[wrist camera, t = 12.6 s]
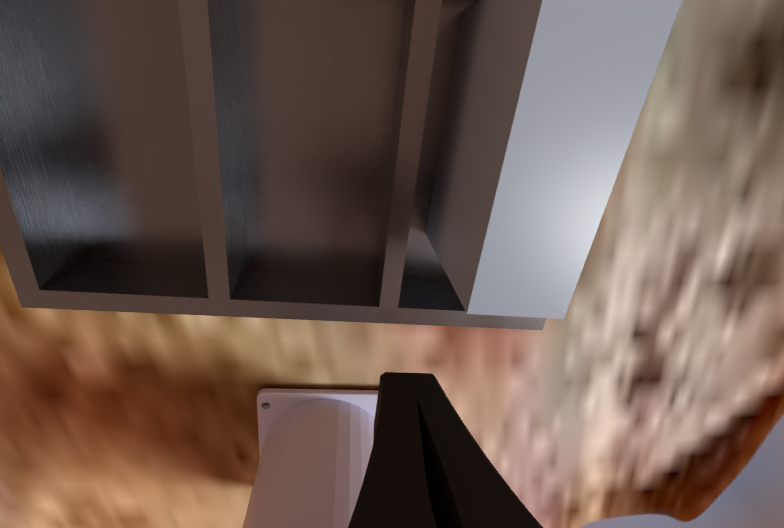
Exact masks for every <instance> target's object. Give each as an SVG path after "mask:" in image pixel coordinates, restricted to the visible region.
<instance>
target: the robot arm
mask: <svg viewBox="0 0 784 528" xmlns="http://www.w3.org/2000/svg"><path fill="white" fill-rule="evenodd" d="M265 403H269V404H265ZM257 416H258V437H259V458H260V461H259V465H258V469H257V472H256V476H255V480H254V484H253V488H252V492H251V496H250V500H249V504H248V508H247V512H246V516H245V520H244V524H243V528H543V527H542V526H541V525H540V524H539V522H538V521H537V520H536V519H535V518H534V517H533V516H532V514H531V513H530V512H529V511H528V510H527V508H526V507H525V506H524V505H523V503H522V502H521V501H520V500H519V499H518V497H517V496H516V495H515V494H514V492H513V491H512V490H511V489H510V487H509V486H508V485H507V483H506V482H505V481H504V479H503V478H502V477H501V475H500V474H499V473H498V471H497V470H496V469H495V468H494V466H493V465H492V463H491V462H490V461H489V459H488V458H487V457H486V455H485V454H484V452H483V451H482V449H481V448H480V447H479V445H478V444H477V442H476V441H475V439H474V438H473V436H472V435H471V434H470V432H469V431H468V429H467V428H466V426H465V425H464V423H463V422H462V420H461V418H460V417H459V415H458V414H457V412H456V411H455V409H454V407H453V406H452V404H451V403H450V401H449V399H448V398H447V396H446V394H445V393H444V391H443V389H442V388H441V386H440V384H439V383H438V381H437V379H436V377H435V376H434V375H433V374H426V373H393V372H385V373H384V374H382V375H381V376H380V383H379V391H378V390H325V389H272V388H266V389H262V390H260V391H259V392H258V395H257Z"/></svg>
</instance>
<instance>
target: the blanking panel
mask: <svg viewBox="0 0 784 528" xmlns="http://www.w3.org/2000/svg"><path fill="white" fill-rule="evenodd" d="M681 2H682V0H476V1H475V2H473V3H472V4H471V5H469V6H468V7H467V8H465V9H464V12H463V18H462V24H461V29H460V35H459V41H458V47H457V53H456V59H455V65H454V71H453V77H452V83H451V89H450V95H449V100H448V106H447V112H446V118H445V124H444V130H443V136H442V142H441V148H440V154H439V160H438V166H437V171H436V177H435V183H434V189H433V195H432V201H431V207H430V213H429V219H428V225H427V231H426V235H427V237H428V239H429V241H430V243H431V245H432V247H433V249H434V251H435V253H436V255H437V256H438V258H439V260H440V262H441V264H442V266H443V268H444V270H445V272H446V274H447V276H448V278H449V280H450V282H451V284H452V286H453V288H454V290H455V292H456V294H457V295H458V297H459V299H460V301H461V303H462V305H463V307H464V309H465V311H466V313H467V314H479V315H498V316H517V317H535V318H554V319H564V317H565V315H566V312H567V309H568V306H569V304H570V301H571V298H572V296H573V293H574V290H575V288H576V285H577V282H578V280H579V277H580V274H581V271H582V269H583V266H584V263H585V261H586V258H587V255H588V253H589V250H590V247H591V244H592V242H593V239H594V236H595V234H596V231H597V228H598V226H599V223H600V220H601V218H602V215H603V212H604V209H605V207H606V204H607V201H608V199H609V196H610V193H611V191H612V188H613V185H614V182H615V180H616V177H617V174H618V172H619V169H620V166H621V164H622V161H623V158H624V156H625V153H626V150H627V147H628V145H629V142H630V139H631V137H632V134H633V131H634V129H635V126H636V123H637V120H638V118H639V115H640V112H641V110H642V107H643V104H644V102H645V99H646V96H647V94H648V91H649V88H650V85H651V83H652V80H653V77H654V75H655V72H656V69H657V67H658V64H659V61H660V58H661V56H662V53H663V50H664V48H665V45H666V42H667V40H668V37H669V34H670V32H671V29H672V26H673V23H674V21H675V18H676V15H677V13H678V10H679V7H680V5H681Z"/></svg>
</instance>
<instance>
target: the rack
mask: <svg viewBox="0 0 784 528" xmlns="http://www.w3.org/2000/svg"><path fill="white" fill-rule="evenodd" d="M475 1H476V0H0V246H1V249H2V252H3V255H4V258H5V261H6V264H7V266H8V269H9V272H10V275H11V278H12V281H13V284H14V286H15V289H16V292H17V295H18V298H19V301H20V304H21V307H27V308H50V309H73V310H96V311H119V312H141V313H164V314H187V315H210V316H233V317H255V318H278V319H301V320H324V321H347V322H369V323H392V324H415V325H438V326H461V327H483V328H506V329H529V330H542V329H543V327H544V324H545V321H546V318H535V317H517V316H498V315H479V314H467V313H466V311H465V309H464V307H463V305H462V303H461V301H460V299H459V297H458V295H457V294H456V292H455V290H454V288H453V286H452V284H451V282H450V280H449V278H448V276H447V274H446V272H445V270H444V268H443V266H442V264H441V262H440V260H439V258H438V256H437V255H436V253H435V251H434V249H433V247H432V245H431V243H430V241H429V239H428V237H427V235H426V231H427V225H428V219H429V213H430V207H431V201H432V195H433V189H434V183H435V177H436V171H437V166H438V160H439V154H440V148H441V142H442V136H443V130H444V124H445V118H446V112H447V106H448V100H449V95H450V89H451V83H452V77H453V71H454V65H455V59H456V53H457V47H458V41H459V35H460V29H461V24H462V18H463V12H464V9H465V8H467V7H468V6H469V5H471V4H472V3H473V2H475Z"/></svg>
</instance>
